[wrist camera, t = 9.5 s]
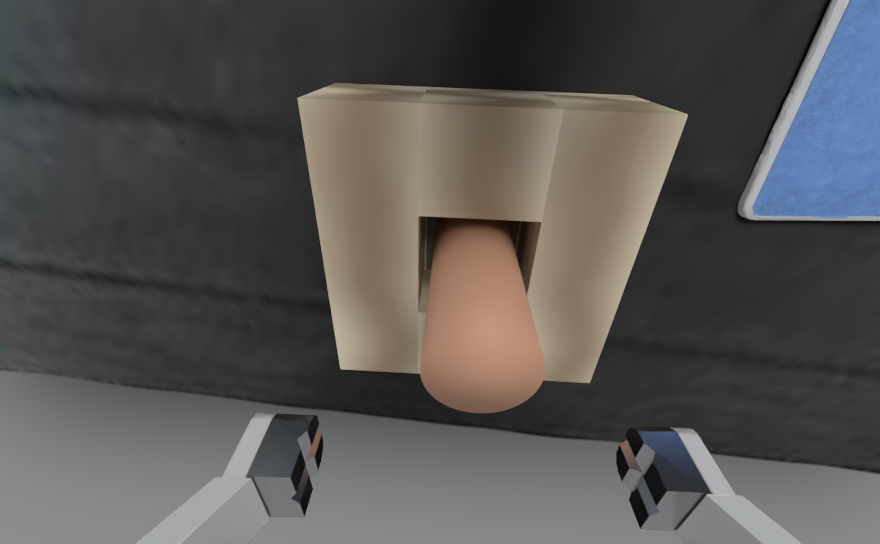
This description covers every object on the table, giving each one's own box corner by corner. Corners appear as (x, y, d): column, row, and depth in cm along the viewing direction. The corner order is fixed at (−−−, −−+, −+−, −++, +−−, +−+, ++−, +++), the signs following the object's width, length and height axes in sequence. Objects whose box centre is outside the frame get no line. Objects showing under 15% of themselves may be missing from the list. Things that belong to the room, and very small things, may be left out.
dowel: (434, 262, 22) (419, 409, 13) (436, 197, 19) (420, 322, 11) (503, 266, 21) (533, 416, 13) (513, 200, 19) (556, 330, 11)
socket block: (360, 313, 25) (340, 369, 21) (335, 82, 18) (297, 98, 13) (567, 324, 25) (589, 383, 21) (632, 95, 17) (688, 114, 13)
